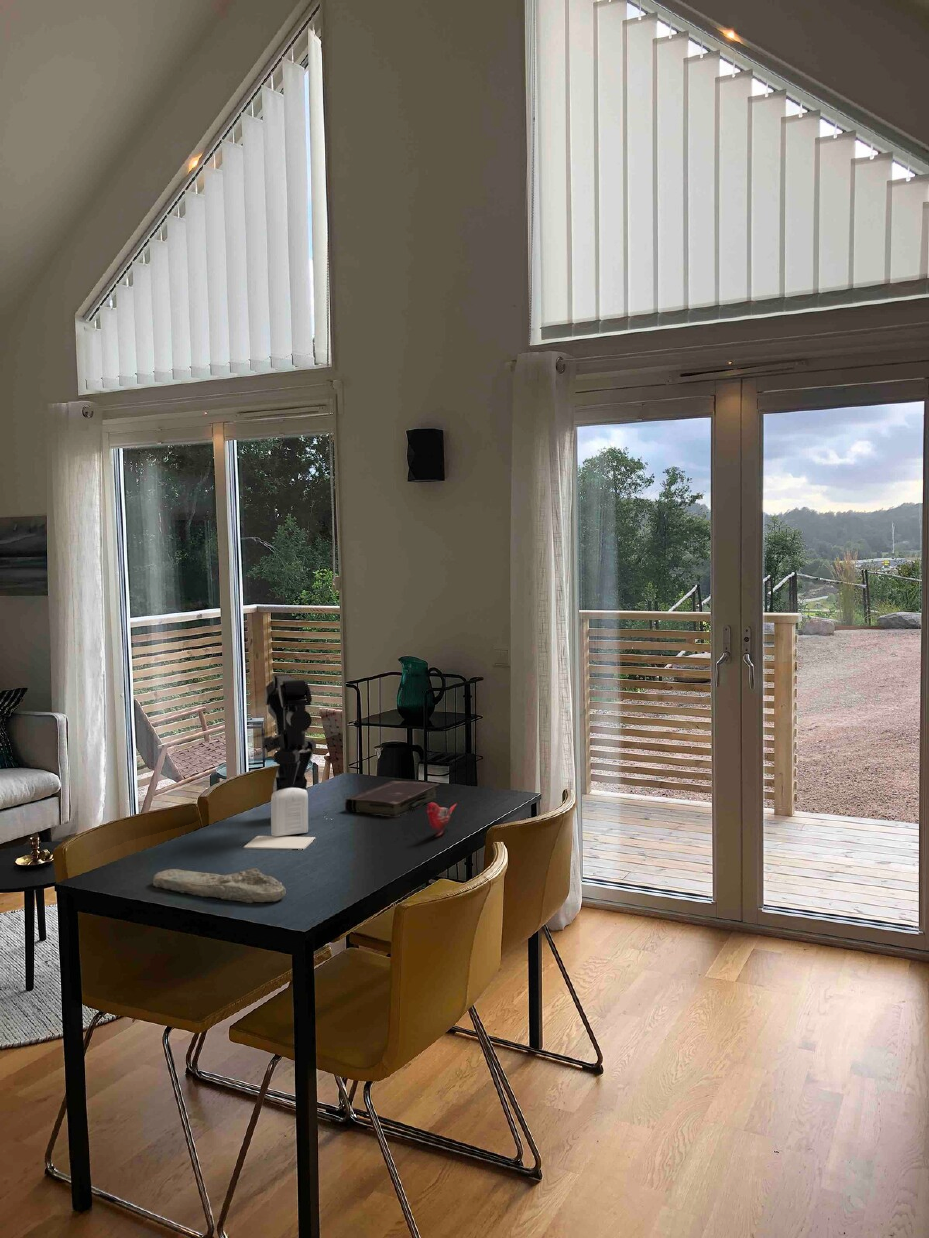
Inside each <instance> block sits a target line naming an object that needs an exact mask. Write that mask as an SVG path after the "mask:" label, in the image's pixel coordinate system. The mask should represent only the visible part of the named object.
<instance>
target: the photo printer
mask: <svg viewBox="0 0 929 1238" xmlns="http://www.w3.org/2000/svg"><path fill="white" fill-rule="evenodd" d="M308 831H309V794H308V791H307V789H306V790H304V789H300V788H285V789H281V790H278V791H276V792H273V793H272V794H271V798H270V832H271V833H270V834H271V836H275V837H277V836H283V837H285V836H291V835H297V834H299V835H300V834H306V833H308Z"/></svg>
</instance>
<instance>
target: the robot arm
mask: <svg viewBox="0 0 929 1238" xmlns="http://www.w3.org/2000/svg"><path fill="white" fill-rule="evenodd" d="M264 691H265V692H264V705H265V706H266V707H267V712H268V713H269V715H270V716H271V717H272V718H273V719H274V723H275V725H274V726H275V733H276V736H272V735H270V736H267V737H265V738H264V739H263V742H262V748H263V749H265V751H266V752H267V753H271V752H272V751H273V750H277V749H278V750H277V751H276V752H274V754H273V755H272V756H273V758H272V759H273V763H276V764H277V765H279V766H278V768H277V771H276V774H275V777H274V781H273V788H272V791H273V793H274V792H276V791H278V790H281V789H285V788H300V789H304V790H306V791H307V787H308V785H307V784H308V779H307V777H306V775H305V774H306V771H307V769H308V767H309V764H310V762H311V760H312V757H313V754H315V750H316V749H317V742H316V741H315V740H314V739H313V738H306V732H307V733H308V729H309V728H310V726H312V725H311V724H312V720H313V719H312V716H311V714H310V713H309V712H308V711H307V710H306V707H309V706H311V705H312V704H311V703H312V702H313V698H312V694H311V693H312V691H311V688H310V686H309V684H308V683H306V680H305V679H304V678H303V679H302V678H301V679H294V677H292V674H289V673H283V674H281V673H280V674H275V675H273V676H272V681H270V682H269V683H268V684H267V685H266V686H265V690H264Z"/></svg>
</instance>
